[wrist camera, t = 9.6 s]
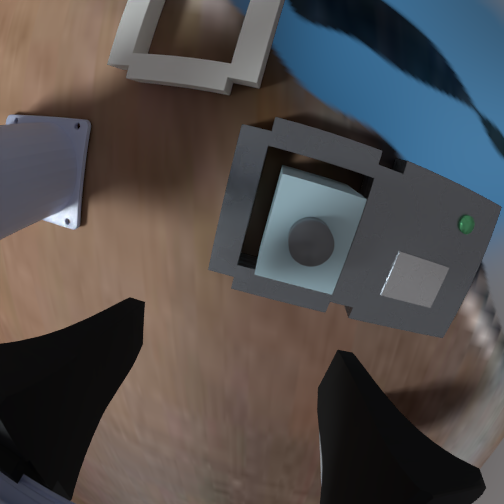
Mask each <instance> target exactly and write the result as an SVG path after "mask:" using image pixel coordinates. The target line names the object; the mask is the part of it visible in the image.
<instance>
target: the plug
mask: <svg viewBox="0 0 504 504" xmlns="http://www.w3.org/2000/svg"><path fill="white" fill-rule="evenodd" d="M366 201H367V199H366V198H364V197H363V196H362V195H360V194H359V193H358V192H356V191H355V190H354V189H352V188H351V187H350V186H348V185H347V184H345V183H342V182H339V181H336V180H333V179H330V178H326V177H323V176H320V175H316V174H313V173H310V172H306V171H303V170H299V169H296V168H292V167H289V166H285V165H282V168H281V171H280V175H279V179H278V182H277V186H276V190H275V193H274V197H273V201H272V204H271V208H270V211H269V215H268V219H267V222H266V226H265V230H264V233H263V237H262V240H261V245H260V250H259V255H258V259H257V264H256V269H255V274H254V275H258V276H262V277H265V278H269V279H273V280H277V281H281V282H284V283H288V284H292V285H296V286H300V287H304V288H308V289H311V290H315V291H319V292H323V293H327V294H331V295H332V294H333V291H334V289H335V286H336V284H337V281H338V278H339V276H340V273H341V271H342V268H343V266H344V263H345V260H346V258H347V255H348V252H349V249H350V247H351V244H352V241H353V238H354V236H355V233H356V230H357V227H358V224H359V221H360V218H361V216H362V213H363V210H364V207H365V204H366Z"/></svg>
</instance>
